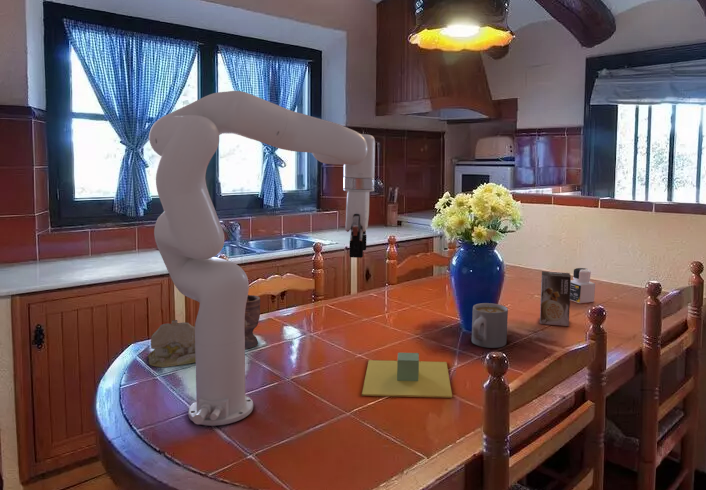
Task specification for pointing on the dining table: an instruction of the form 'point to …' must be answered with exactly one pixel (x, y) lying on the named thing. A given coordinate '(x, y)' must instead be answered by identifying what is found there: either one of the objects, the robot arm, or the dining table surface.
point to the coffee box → (555, 298)
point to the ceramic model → (173, 345)
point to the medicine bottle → (582, 286)
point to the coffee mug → (489, 325)
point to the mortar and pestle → (251, 320)
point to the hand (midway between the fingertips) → (358, 253)
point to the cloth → (428, 385)
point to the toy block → (408, 367)
